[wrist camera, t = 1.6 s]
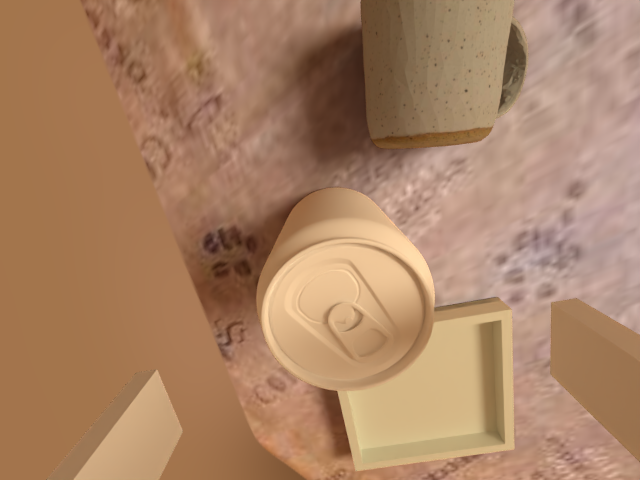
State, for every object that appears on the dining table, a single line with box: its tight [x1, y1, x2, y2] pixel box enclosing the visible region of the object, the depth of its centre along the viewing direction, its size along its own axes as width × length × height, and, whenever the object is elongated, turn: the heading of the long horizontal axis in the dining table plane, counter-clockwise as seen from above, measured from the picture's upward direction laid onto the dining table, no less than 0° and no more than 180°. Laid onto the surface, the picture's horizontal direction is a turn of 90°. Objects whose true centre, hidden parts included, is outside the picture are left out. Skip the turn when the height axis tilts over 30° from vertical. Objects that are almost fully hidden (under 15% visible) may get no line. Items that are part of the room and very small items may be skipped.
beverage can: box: [256, 187, 435, 391], centre depth 18 cm, size 8×8×12 cm
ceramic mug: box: [361, 0, 528, 149], centre depth 17 cm, size 11×8×8 cm
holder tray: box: [337, 297, 514, 471], centre depth 27 cm, size 15×15×2 cm
